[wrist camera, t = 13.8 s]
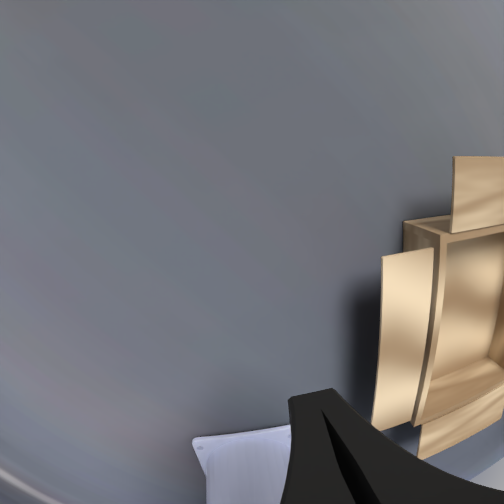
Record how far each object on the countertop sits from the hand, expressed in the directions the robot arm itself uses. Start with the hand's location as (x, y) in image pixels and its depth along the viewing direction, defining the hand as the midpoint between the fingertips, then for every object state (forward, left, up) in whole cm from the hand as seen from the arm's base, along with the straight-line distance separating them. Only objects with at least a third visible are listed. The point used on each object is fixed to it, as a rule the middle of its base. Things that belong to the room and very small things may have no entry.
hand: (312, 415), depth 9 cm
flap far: (-11, -14, -6) cm, 19 cm away
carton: (-4, -14, -10) cm, 18 cm away
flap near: (+3, -14, -6) cm, 16 cm away
